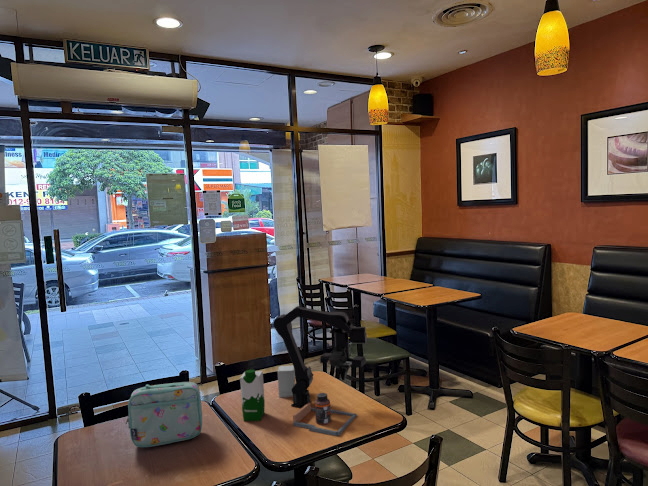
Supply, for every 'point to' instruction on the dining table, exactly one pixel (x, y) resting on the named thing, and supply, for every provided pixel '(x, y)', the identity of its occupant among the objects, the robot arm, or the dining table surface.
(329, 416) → the supplement bottle
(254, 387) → the milk carton
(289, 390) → the supplement box
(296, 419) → the grey flat frame
